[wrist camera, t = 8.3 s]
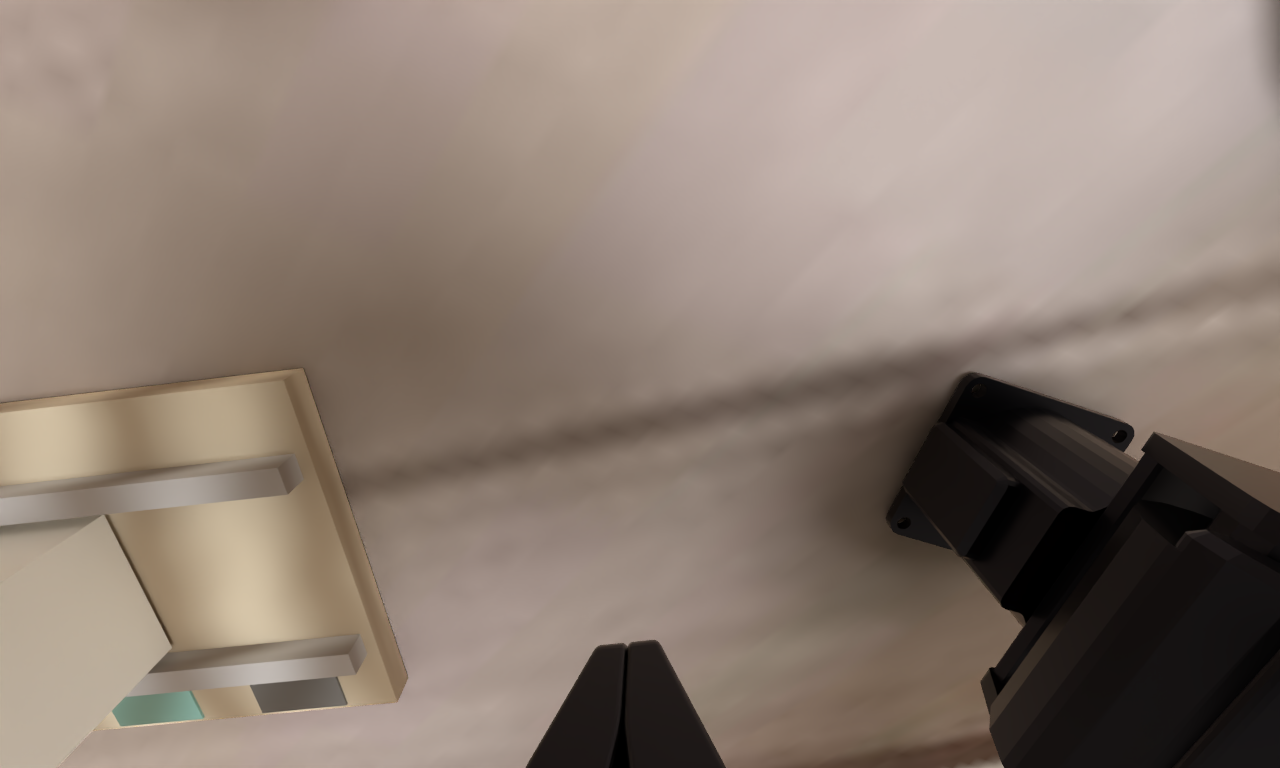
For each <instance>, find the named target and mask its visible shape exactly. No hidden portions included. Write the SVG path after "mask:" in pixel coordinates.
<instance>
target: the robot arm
mask: <svg viewBox="0 0 1280 768" xmlns="http://www.w3.org/2000/svg"><path fill="white" fill-rule="evenodd" d="M977 384H981V386H980V389H979V390H978V391H977V392H975V393H972V388H973V387H974V386H975V385H977ZM1116 431H1118V433H1117V434H1116V435H1115V436H1114V437H1112V436H1113V434H1114V433H1115V432H1116ZM1133 437H1134V429H1133V427H1132V426H1130V425H1129V424H1127V423H1125V422H1123V421H1121V420H1120V419H1117V418H1114V417H1111V416H1108V415H1105V414H1102V413H1099V412H1096V411H1093V410H1089V409H1086V408H1083V407H1080V406H1077V405H1074V404H1071V403H1068V402H1065V401H1062V400H1059V399H1056V398H1053V397H1050V396H1047V395H1044V394H1041V393H1038V392H1035V391H1032V390H1029V389H1026V388H1023V387H1020V386H1017V385H1014V384H1011V383H1008V382H1005V381H1002V380H999V379H996V378H993V377H990V376H987V375H984V374H981V373H972V374H968V375H967V376H965V377H964V378H963V379H962V380H961V382H960V383H959V385H958V387H957V389H956V390H955V392H954V394H953V396H952V398H951V399H950V401H949V403H948V405H947V407H946V408H945V410H944V412H943V414H942V416H941V418H940V419H939V421H938V423H937V424H936V425H935V426H934V427H933V428H932V430H931V432H930V433H929V435H928V437H927V439H926V441H925V443H924V444H923V446H922V448H921V450H920V452H919V453H918V455H917V457H916V459H915V461H914V463H913V464H912V466H911V468H910V470H909V472H908V473H907V475H906V477H905V479H904V481H903V486H902V488H901V490H900V492H899V494H898V495H897V497H896V499H895V501H894V503H893V504H892V506H891V508H890V510H889V512H888V513H887V517H886V521H887V523H888V525H889V526H890V528H891V529H892V530H893V532H895V533H897V534H899V535H902V536H906V537H909V538H913V539H916V540H920V541H923V542H926V543H930V544H933V545H937V546H940V547H944V548H947V549H951V550H953V551H954V552H955V553H956V554H957V555H958V556H959V557H962V559H963V560H964V561H965V562H966V563H967V565H968V566H969V567H970V568H971V570H972V571H973V572H974V573H975V574H976V576H977V577H978V578H979V579H980V581H981V582H982V583H983V584H984V585H985V587H986V588H987V589H988V590H989V592H990V593H991V594H992V595H993V597H994V598H995V599H996V600H997V601H998V603H999V604H1000V605H1001V606H1002V607H1003V608H1005V609H1007V610H1009V611H1010V612H1011V613H1012V614H1013V616H1014V617H1015V618H1016V619H1017V621H1018V622H1019V623H1020V624H1021V625H1022V627H1023V629H1022V630H1021V631H1020V633H1019V634H1018V636H1017V637H1016V639H1015V640H1014V641H1013V643H1012V644H1011V646H1010V647H1009V649H1008V650H1007V651H1006V653H1005V654H1004V656H1003V657H1002V659H1001V660H1000V661H999V663H998V664H997V666H996V667H995V668H993V667H991V668H989V670H988V671H987V673H986V674H985V676H984V677H983V678H982V680H981V686H982V690H983V693H984V697H985V700H986V704H987V707H988V711H989V714H990V728H989V729H990V732H991V735H992V738H993V740H994V743H995V746H996V749H997V751H998V754H999V757H1000V760H1001V762H1002V764H1003V766H1004V768H1280V473H1279V472H1276V471H1273V470H1270V469H1267V468H1264V467H1261V466H1258V465H1255V464H1252V463H1249V462H1246V461H1243V460H1239V459H1236V458H1233V457H1230V456H1227V455H1224V454H1221V453H1218V452H1215V451H1212V450H1209V449H1206V448H1203V447H1200V446H1197V445H1194V444H1191V443H1188V442H1185V441H1182V440H1178V439H1175V438H1172V437H1169V436H1166V435H1163V434H1160V433H1157V432H1153V434H1152V435H1151V436H1150V438H1149V439H1148V441H1147V442H1146V444H1145V445H1144V447H1143V448H1142V449H1141V450H1142V451H1143V452H1145V454H1144V455H1143V457H1142V458H1141V460H1140V461H1137V460H1135V459H1134V458H1132V457H1130V456H1129V455H1127V454H1125V453H1124V451H1125V450H1126V448H1127V447H1128V445H1129V444H1130V443H1131V441H1132V439H1133ZM903 517H906V519H905V520H904V521H903V522H901V523H897V522H898V520H899V519H901V518H903ZM526 768H726V767H725V765H724V763H723V761H722V759H721V757H720V756H719V754H718V752H717V750H716V748H715V746H714V744H713V742H712V741H711V739H710V737H709V735H708V733H707V731H706V729H705V727H704V725H703V724H702V722H701V720H700V718H699V716H698V714H697V712H696V710H695V709H694V707H693V705H692V703H691V701H690V699H689V697H688V695H687V693H686V692H685V690H684V688H683V686H682V684H681V682H680V680H679V678H678V677H677V675H676V673H675V671H674V669H673V667H672V665H671V663H670V661H669V660H668V658H667V656H666V654H665V652H664V650H663V648H662V646H661V645H660V643H659V642H658V641H656V640H648V641H638V642H631V643H630V644H629V646H628V647H627V646H626V645H625V644H624V643H618V644H609V645H600V646H598V647H597V648H596V649H595V650H594V651H593V653H592V655H591V656H590V658H589V660H588V662H587V663H586V665H585V667H584V668H583V670H582V672H581V674H580V675H579V677H578V679H577V680H576V682H575V684H574V686H573V687H572V689H571V691H570V692H569V694H568V696H567V698H566V699H565V701H564V703H563V704H562V706H561V708H560V710H559V711H558V713H557V715H556V716H555V718H554V720H553V721H552V723H551V725H550V727H549V728H548V730H547V732H546V733H545V735H544V737H543V739H542V740H541V742H540V744H539V745H538V747H537V749H536V751H535V752H534V754H533V756H532V757H531V759H530V761H529V763H528V764H527V766H526Z"/></svg>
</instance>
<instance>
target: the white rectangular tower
mask: <svg viewBox="0 0 1280 768" xmlns="http://www.w3.org/2000/svg"><path fill="white" fill-rule="evenodd" d="M171 648H172V647H171V645H170V643H169V641H168V639H167V637H166V635H165V633H164V631H163V629H162V627H161V625H160V623H159V621H158V619H157V617H156V615H155V613H154V611H153V609H152V607H151V605H150V603H149V602H148V600H147V598H146V596H145V594H144V592H143V590H142V588H141V586H140V584H139V582H138V580H137V578H136V576H135V574H134V572H133V570H132V568H131V566H130V564H129V562H128V560H127V558H126V556H125V555H124V553H123V551H122V549H121V547H120V545H119V543H118V541H117V539H116V537H115V535H114V533H113V531H112V529H111V527H110V525H109V523H108V521H107V519H106V517H105V515H96V516H87V517H78V518H69V519H59V520H50V521H41V522H32V523H22V524H13V525H4V526H0V768H58V767H59V766H60V764H61V763H62V762H63V761H64V760H65V759H66V758H67V757H68V756H69V755H70V754H71V753H72V752H73V751H74V750H75V749H76V748H77V747H78V746H79V745H80V744H81V742H82V741H83V740H84V739H85V738H86V737H87V736H88V735H89V734H90V733H91V732H92V731H93V730H94V729H95V728H96V727H97V726H98V725H99V724H100V723H101V722H102V720H103V719H104V718H105V717H106V716H107V715H108V714H109V713H110V712H111V711H112V710H113V709H114V708H115V707H116V706H117V705H118V704H119V703H120V702H121V701H122V700H123V699H124V697H125V696H126V695H127V694H128V693H129V692H130V691H131V690H132V689H133V688H134V687H135V686H136V685H137V684H138V683H139V682H140V681H141V680H142V679H143V678H144V677H145V675H146V674H147V673H148V672H149V671H150V670H151V669H152V668H153V667H154V666H155V665H156V664H157V663H158V662H159V661H160V660H161V659H162V658H163V657H164V656H165V655H166V653H167V652H168V651H169V650H170V649H171Z"/></svg>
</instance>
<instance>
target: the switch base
mask: <svg viewBox="0 0 1280 768" xmlns="http://www.w3.org/2000/svg"><path fill="white" fill-rule="evenodd" d="M96 515H105V517H106V519H107V521H108V523H109V525H110V527H111V529H112V531H113V533H114V535H115V537H116V539H117V541H118V543H119V545H120V547H121V549H122V551H123V553H124V555H125V556H126V558H127V560H128V562H129V564H130V566H131V568H132V570H133V572H134V574H135V576H136V578H137V580H138V582H139V584H140V586H141V588H142V590H143V592H144V594H145V596H146V598H147V600H148V602H149V603H150V605H151V607H152V609H153V611H154V613H155V615H156V617H157V619H158V621H159V623H160V625H161V627H162V629H163V631H164V633H165V635H166V637H167V639H168V641H169V643H170V645H171V647H172V648H171V649H170V650H169V651H168V652H167V653H166V655H165V656H164V657H163V658H162V659H161V660H160V661H159V662H158V663H157V664H156V665H155V666H154V667H153V668H152V669H151V670H150V671H149V672H148V673H147V674H146V675H145V677H144V678H143V679H142V680H141V681H140V682H139V683H138V684H137V685H136V686H135V687H134V688H133V689H132V690H131V691H130V692H129V693H128V694H127V695H126V696H125V697H124V699H123V700H122V701H121V702H120V703H119V704H118V705H117V706H116V707H115V708H114V709H113V710H112V711H111V712H110V713H109V714H108V715H107V716H106V717H105V718H104V719H103V720H102V722H101V723H100V724H99V725H98V726H97V727H96V728H95V729H94V730H93V731H97V730H108V729H119V728H129V727H140V726H150V725H161V724H172V723H182V722H193V721H204V720H214V719H225V718H236V717H246V716H257V715H268V714H278V713H289V712H299V711H310V710H321V709H331V708H342V707H353V706H363V705H374V704H385V703H395V702H398V700H399V698H400V695H401V693H402V691H403V688H404V686H405V684H406V682H407V679H408V676H407V673H406V670H405V667H404V665H403V662H402V659H401V656H400V653H399V650H398V647H397V644H396V641H395V638H394V635H393V632H392V629H391V626H390V623H389V620H388V617H387V614H386V611H385V608H384V605H383V602H382V599H381V597H380V594H379V591H378V588H377V585H376V582H375V579H374V576H373V573H372V570H371V567H370V564H369V561H368V558H367V555H366V552H365V549H364V546H363V543H362V540H361V537H360V534H359V532H358V529H357V526H356V523H355V520H354V517H353V514H352V511H351V508H350V505H349V502H348V499H347V496H346V493H345V490H344V487H343V484H342V481H341V478H340V475H339V472H338V469H337V467H336V464H335V461H334V458H333V455H332V452H331V449H330V446H329V443H328V440H327V437H326V434H325V431H324V428H323V425H322V422H321V419H320V416H319V413H318V410H317V407H316V404H315V402H314V399H313V396H312V393H311V390H310V387H309V384H308V381H307V378H306V375H305V372H304V369H303V368H299V369H290V370H282V371H273V372H264V373H256V374H247V375H239V376H230V377H222V378H213V379H205V380H196V381H187V382H179V383H170V384H162V385H153V386H145V387H136V388H127V389H119V390H110V391H102V392H93V393H85V394H76V395H68V396H59V397H50V398H42V399H33V400H25V401H16V402H8V403H0V526H4V525H13V524H22V523H32V522H41V521H50V520H59V519H69V518H78V517H87V516H96Z"/></svg>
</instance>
